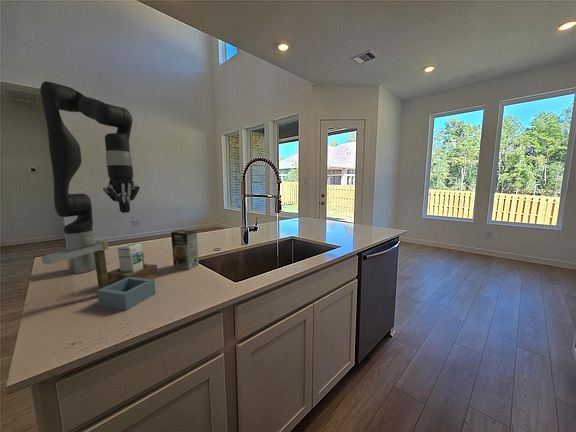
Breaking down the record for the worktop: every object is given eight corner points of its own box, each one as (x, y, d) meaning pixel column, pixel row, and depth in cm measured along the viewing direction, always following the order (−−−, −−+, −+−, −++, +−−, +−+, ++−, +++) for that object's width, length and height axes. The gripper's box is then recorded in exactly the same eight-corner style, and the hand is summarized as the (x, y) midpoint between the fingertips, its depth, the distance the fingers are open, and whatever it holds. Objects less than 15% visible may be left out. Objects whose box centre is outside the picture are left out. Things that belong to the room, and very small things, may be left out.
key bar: (42, 264, 67) (40, 255, 67) (100, 248, 83) (99, 241, 82) (51, 265, 66) (49, 256, 66) (108, 249, 82) (107, 241, 81)
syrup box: (134, 284, 90) (130, 247, 88) (121, 283, 91) (116, 246, 89) (146, 278, 96) (142, 243, 94) (133, 277, 97) (129, 242, 95)
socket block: (89, 294, 83) (83, 250, 81) (135, 274, 101) (131, 238, 98) (114, 298, 80) (109, 253, 78) (157, 276, 98) (154, 239, 95)
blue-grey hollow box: (99, 305, 75) (97, 290, 75) (130, 290, 86) (128, 276, 85) (126, 310, 73) (124, 294, 72) (155, 293, 83) (154, 279, 82)
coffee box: (173, 267, 108) (170, 232, 105) (184, 262, 114) (181, 229, 111) (188, 270, 104) (186, 233, 102) (199, 265, 110) (197, 230, 108)
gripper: (128, 165, 94) (133, 210, 96) (92, 163, 81) (99, 214, 84) (143, 165, 92) (148, 210, 94) (109, 163, 79) (115, 215, 82)
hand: (125, 212), depth 89 cm, fingers closed
